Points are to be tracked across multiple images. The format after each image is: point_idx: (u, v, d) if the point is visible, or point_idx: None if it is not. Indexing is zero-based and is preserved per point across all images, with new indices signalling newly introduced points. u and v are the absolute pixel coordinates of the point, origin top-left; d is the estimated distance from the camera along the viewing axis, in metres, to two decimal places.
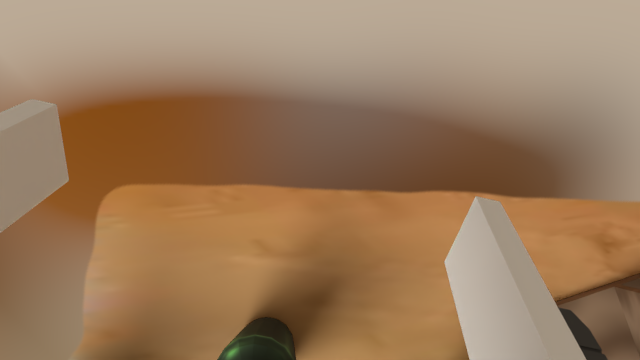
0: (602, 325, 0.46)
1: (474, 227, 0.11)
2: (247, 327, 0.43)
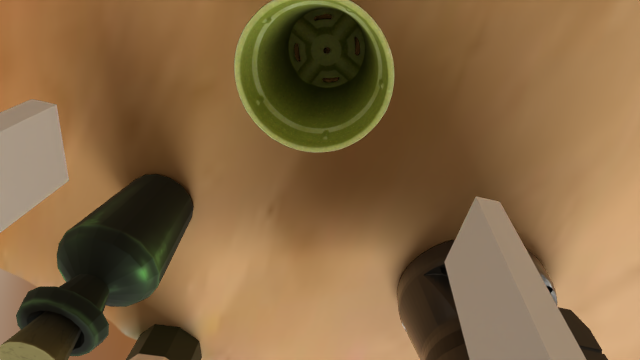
0: None
1: (474, 227, 0.11)
2: None
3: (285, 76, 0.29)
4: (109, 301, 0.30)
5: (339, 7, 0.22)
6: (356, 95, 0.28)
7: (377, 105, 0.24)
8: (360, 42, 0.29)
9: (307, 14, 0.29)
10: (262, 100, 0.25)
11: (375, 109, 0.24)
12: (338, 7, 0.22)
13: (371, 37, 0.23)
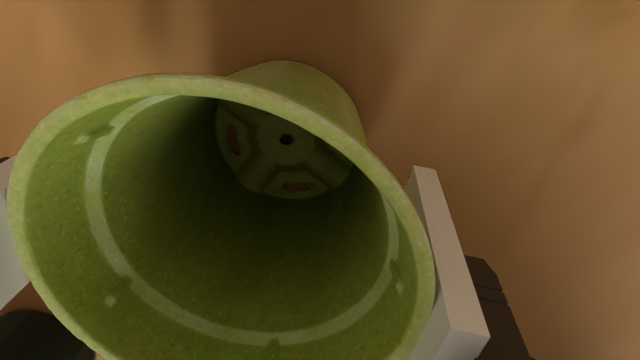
0: None
1: (410, 192, 0.12)
2: None
3: (205, 194, 0.15)
4: None
5: None
6: (341, 245, 0.14)
7: (387, 328, 0.10)
8: None
9: None
10: (127, 287, 0.11)
11: (381, 333, 0.10)
12: None
13: None
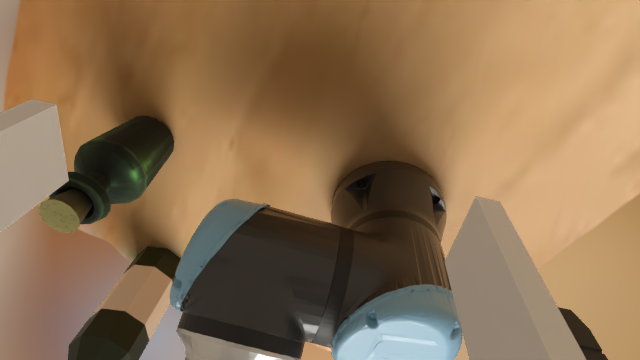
0: None
1: (474, 227, 0.11)
2: None
3: None
4: (111, 195, 0.43)
5: None
6: None
7: None
8: None
9: None
10: None
11: None
12: None
13: None
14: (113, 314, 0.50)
